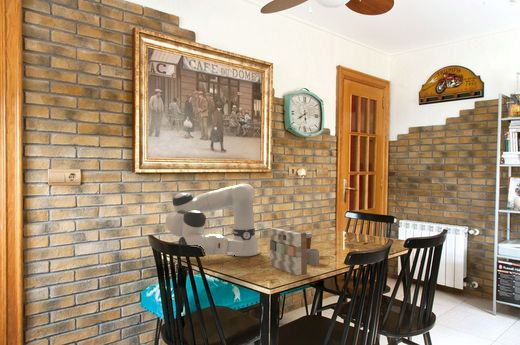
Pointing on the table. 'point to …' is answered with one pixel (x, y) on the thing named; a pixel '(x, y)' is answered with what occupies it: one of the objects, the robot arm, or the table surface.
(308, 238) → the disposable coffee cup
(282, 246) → the sage key
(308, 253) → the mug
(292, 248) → the terracotta key
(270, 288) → the table surface
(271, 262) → the keypad panel
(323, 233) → the table surface
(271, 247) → the charcoal key
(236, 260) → the table surface
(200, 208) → the robot arm
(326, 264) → the table surface
